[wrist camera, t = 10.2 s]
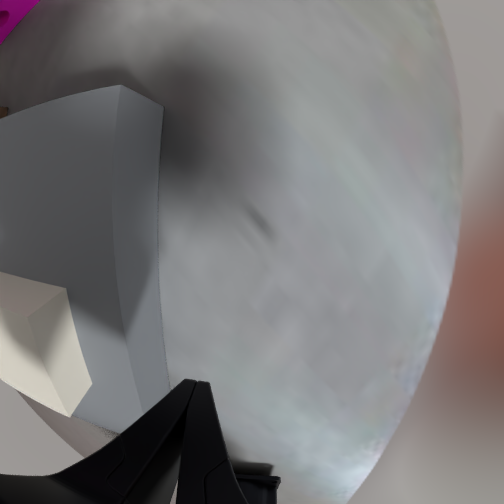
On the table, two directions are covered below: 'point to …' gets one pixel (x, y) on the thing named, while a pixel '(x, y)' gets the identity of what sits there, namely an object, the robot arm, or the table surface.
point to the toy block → (13, 14)
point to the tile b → (40, 344)
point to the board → (92, 235)
